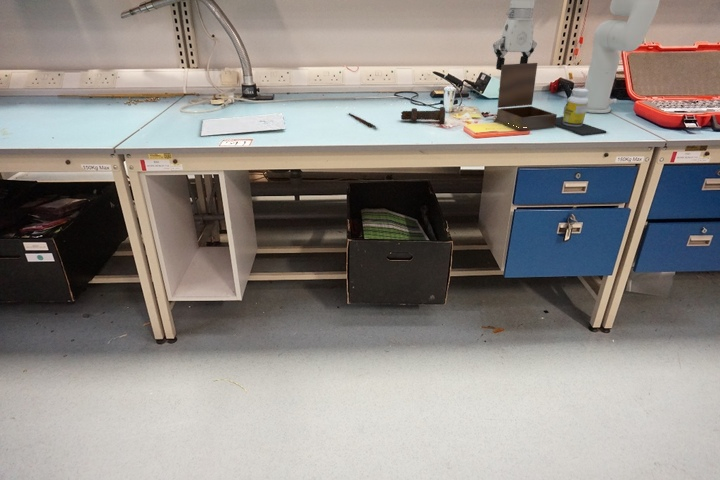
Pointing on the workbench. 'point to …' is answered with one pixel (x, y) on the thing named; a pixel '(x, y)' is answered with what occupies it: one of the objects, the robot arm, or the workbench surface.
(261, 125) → the paper sheet
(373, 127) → the pen
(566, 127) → the mat
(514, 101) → the lid
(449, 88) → the milkshake
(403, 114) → the bolt
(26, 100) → the workbench surface
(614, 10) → the robot arm
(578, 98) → the pill bottle
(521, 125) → the box
